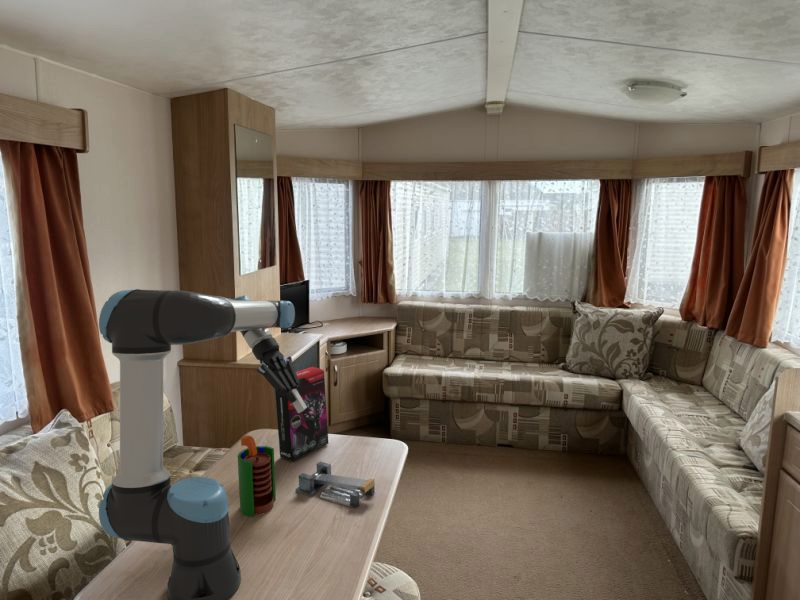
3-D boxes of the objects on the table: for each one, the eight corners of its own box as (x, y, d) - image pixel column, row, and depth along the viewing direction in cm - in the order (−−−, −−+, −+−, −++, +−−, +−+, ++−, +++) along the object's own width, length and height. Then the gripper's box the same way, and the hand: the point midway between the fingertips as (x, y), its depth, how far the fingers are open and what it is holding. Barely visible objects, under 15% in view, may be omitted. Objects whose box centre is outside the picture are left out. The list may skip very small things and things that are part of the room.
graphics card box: (291, 463, 181) (287, 382, 176) (277, 457, 185) (273, 378, 180) (329, 445, 194) (326, 368, 189) (315, 440, 198) (311, 365, 194)
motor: (264, 518, 149) (260, 447, 146) (233, 515, 151) (228, 445, 148) (280, 499, 159) (276, 432, 156) (250, 496, 161) (246, 429, 157)
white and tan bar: (307, 485, 164) (365, 494, 154) (306, 477, 164) (364, 486, 154) (318, 477, 169) (375, 486, 159) (317, 469, 168) (374, 477, 158)
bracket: (354, 509, 153) (354, 492, 152) (295, 491, 163) (294, 475, 162) (375, 491, 162) (375, 475, 162) (318, 475, 172) (318, 460, 172)
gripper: (253, 340, 160) (295, 410, 155) (284, 332, 172) (324, 398, 167) (239, 354, 164) (280, 423, 159) (270, 345, 175) (309, 410, 170)
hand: (302, 410), depth 163 cm, fingers closed
